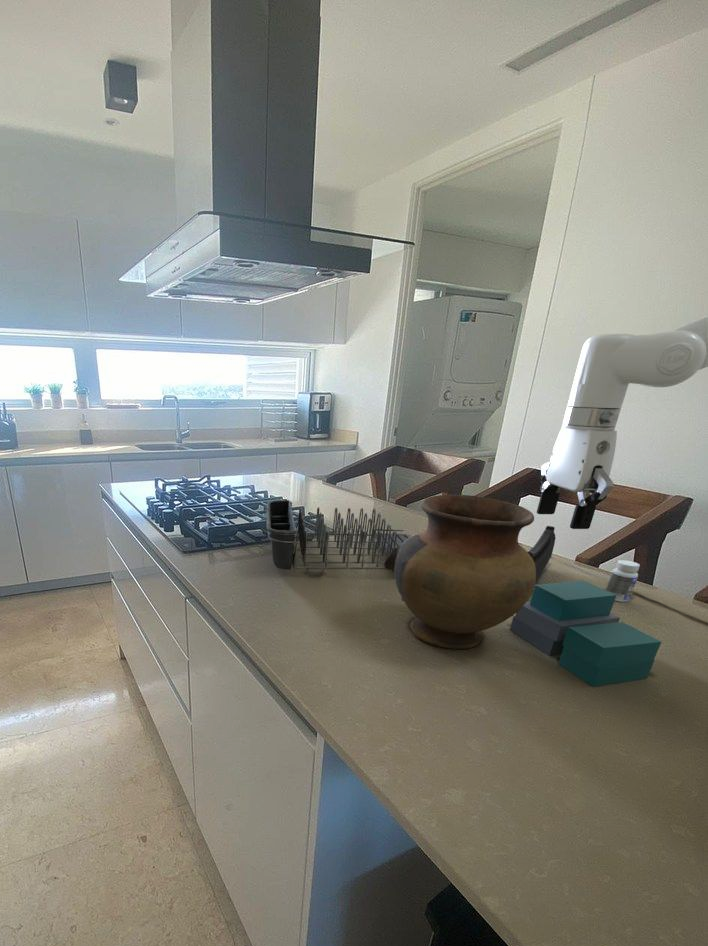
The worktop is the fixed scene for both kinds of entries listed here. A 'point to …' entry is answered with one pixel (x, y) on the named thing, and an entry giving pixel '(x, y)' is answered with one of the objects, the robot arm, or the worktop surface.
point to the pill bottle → (623, 580)
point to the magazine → (543, 550)
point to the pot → (464, 569)
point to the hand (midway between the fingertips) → (561, 520)
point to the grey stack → (549, 628)
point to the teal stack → (608, 653)
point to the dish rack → (326, 537)
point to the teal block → (572, 600)
